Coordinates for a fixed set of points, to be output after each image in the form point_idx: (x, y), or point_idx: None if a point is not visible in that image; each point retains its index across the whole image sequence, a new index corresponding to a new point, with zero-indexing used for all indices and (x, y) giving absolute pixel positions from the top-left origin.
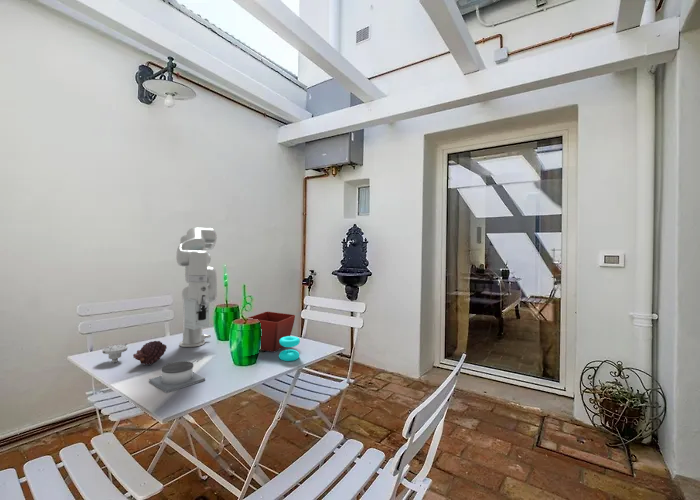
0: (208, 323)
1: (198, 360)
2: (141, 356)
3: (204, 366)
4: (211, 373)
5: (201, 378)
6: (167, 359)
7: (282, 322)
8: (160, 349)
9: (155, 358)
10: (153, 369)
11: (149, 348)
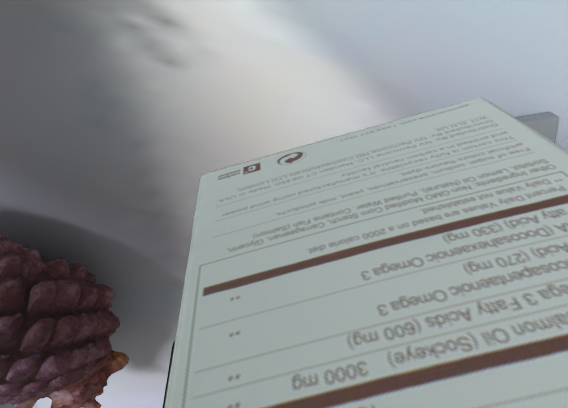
0: (509, 120)
1: (151, 9)
2: (104, 379)
3: (318, 22)
4: (481, 35)
5: (546, 135)
6: (7, 186)
7: None
8: (54, 302)
9: (110, 299)
10: (171, 282)
11: (71, 378)
